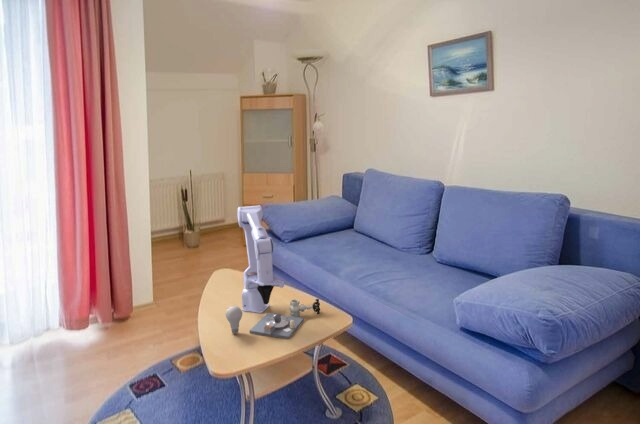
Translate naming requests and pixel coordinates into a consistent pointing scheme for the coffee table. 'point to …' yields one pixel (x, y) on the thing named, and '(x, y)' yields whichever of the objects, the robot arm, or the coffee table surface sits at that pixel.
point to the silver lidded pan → (275, 323)
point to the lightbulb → (234, 318)
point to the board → (282, 332)
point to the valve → (302, 307)
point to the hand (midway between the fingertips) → (266, 303)
